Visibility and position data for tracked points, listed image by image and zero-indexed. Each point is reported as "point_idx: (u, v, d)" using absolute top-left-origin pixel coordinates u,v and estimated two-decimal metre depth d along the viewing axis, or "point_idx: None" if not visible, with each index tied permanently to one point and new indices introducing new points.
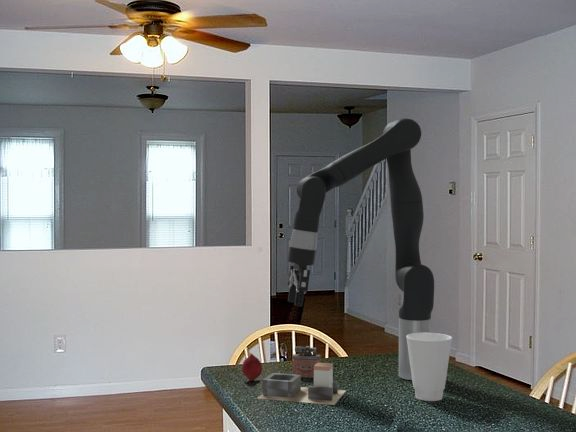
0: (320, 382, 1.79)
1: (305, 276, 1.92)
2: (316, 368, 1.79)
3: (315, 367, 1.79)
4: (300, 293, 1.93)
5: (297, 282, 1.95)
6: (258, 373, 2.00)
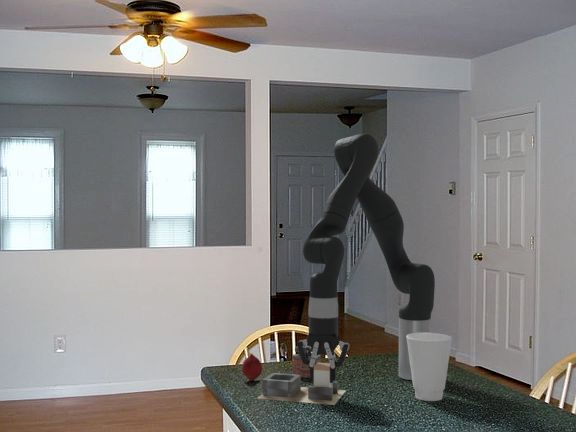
0: (320, 382, 1.79)
1: (347, 350, 1.79)
2: (316, 368, 1.79)
3: (315, 367, 1.79)
4: (336, 368, 1.79)
5: (333, 357, 1.79)
6: (258, 373, 2.00)
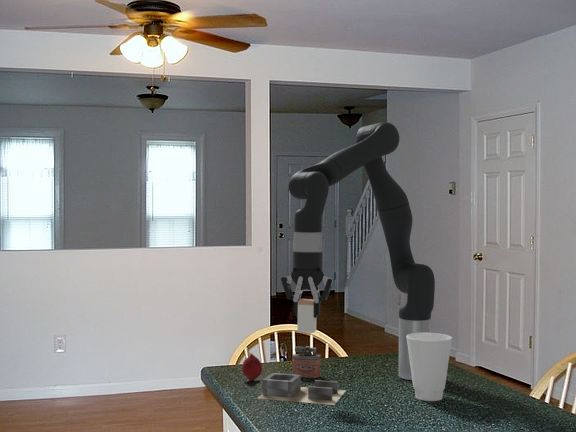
0: (304, 317, 1.79)
1: (330, 285, 1.80)
2: (300, 303, 1.79)
3: (299, 302, 1.80)
4: None
5: (316, 292, 1.79)
6: (258, 373, 2.00)
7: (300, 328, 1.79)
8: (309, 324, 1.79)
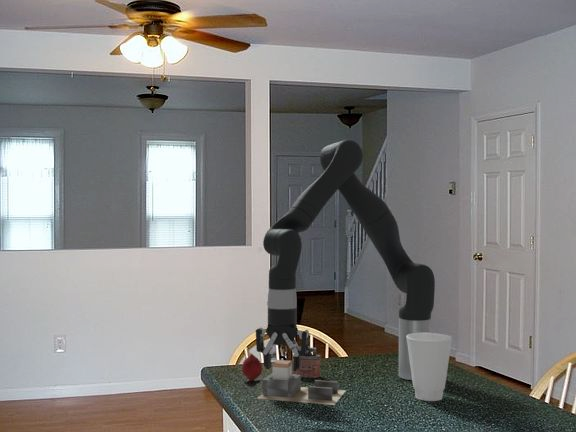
0: (278, 379, 1.82)
1: (307, 337, 1.82)
2: (275, 365, 1.82)
3: (274, 364, 1.82)
4: (300, 356, 1.82)
5: (294, 345, 1.81)
6: (258, 373, 2.00)
7: None
8: None
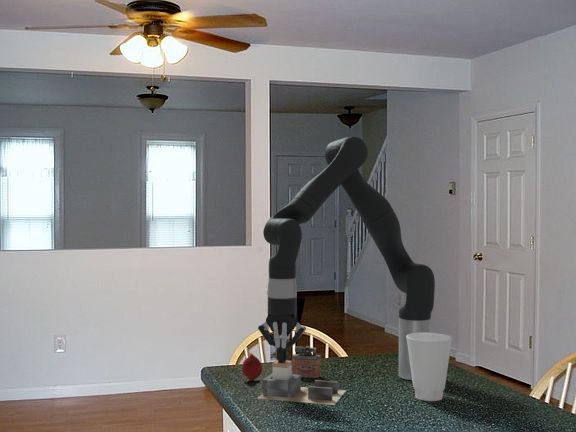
0: (278, 379, 1.82)
1: (301, 334, 1.82)
2: (275, 365, 1.82)
3: (274, 364, 1.82)
4: (287, 348, 1.83)
5: (286, 338, 1.82)
6: (258, 373, 2.00)
7: None
8: None
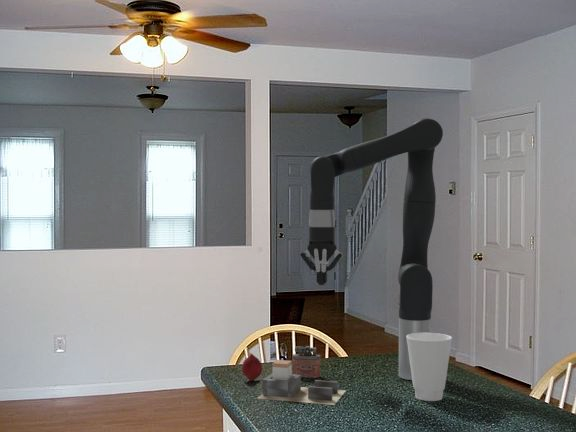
0: (278, 379, 1.82)
1: (339, 259, 2.05)
2: (275, 365, 1.82)
3: (274, 364, 1.82)
4: (326, 272, 2.05)
5: (326, 263, 2.04)
6: (258, 373, 2.00)
7: None
8: None
